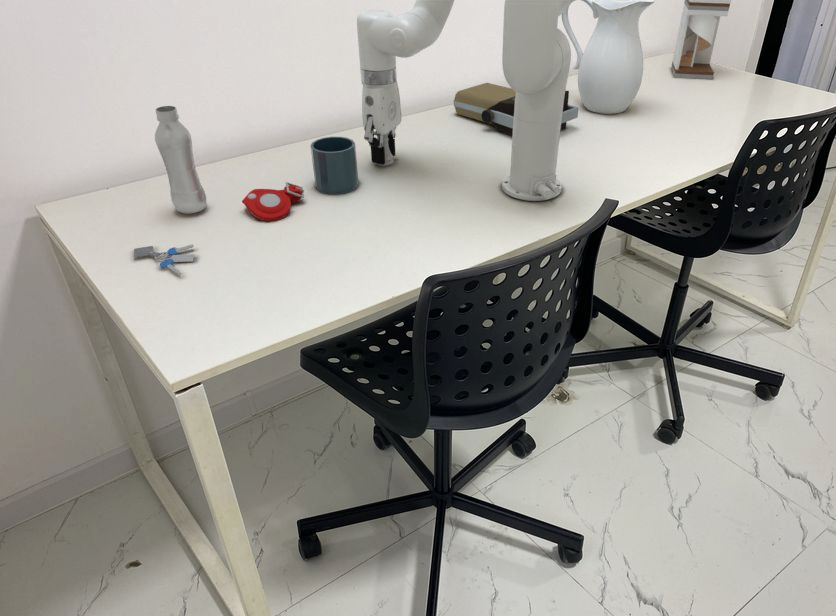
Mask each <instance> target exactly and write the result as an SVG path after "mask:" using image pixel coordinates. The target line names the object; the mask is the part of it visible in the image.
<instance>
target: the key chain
mask: <svg viewBox="0 0 836 616" xmlns="http://www.w3.org/2000/svg"><path fill="white" fill-rule="evenodd" d="M194 246H195V245H194V244H188V245H185V246H182V247H176V246H175V247H170V248H168V250H167V251H163V252H156V251H154V245H149V246H143V247H138V248H136V247H135V248H134V249H133V257H134V258H141V257H147V256H149V257H152V258H154V259H155V260H156V261H157V262H160V263H159V267H160V268H169V269H170V270H171V271H172V272H174V273H176V274H178V275H179V276H180V275H182V273H181V272H180V270H179V269H178V268H176V267H175V266H173V263H187V262H188V263H189V262H191V263H192V262H194V258H195V254H194V253H191V254H189V253H188V254H179V253H181V252H182V251H187V250H189V249H192V248H194Z"/></svg>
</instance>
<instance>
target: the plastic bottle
mask: <svg viewBox="0 0 836 616" xmlns="http://www.w3.org/2000/svg"><path fill="white" fill-rule="evenodd" d="M155 115H156V121H157V122H159V123H158V125H157V128H156V130H155V131H154V142H155V145H156V147H157V149H158V151H159V154H160V156H161V159H162V162H163V163H164V167H165V170H166V173H167V177H168V178H167V179H168V184H169V189H170V190H169V193H170V201H171V203H172V205H173V207H174V210H177V211H178V212H179V213H182V214H187V215H189V214H195V213H199V212H202V211H203V210H204V209H205V208H206V206H207V194H206V192H205V190H204V188H203V185H202V183H201V181H200V178H199V174H198V171H197V168H196V163H195V158H194V157H195V156H194V151H193V140H192V135H191V133H190V131H189V130H188V128H187V127H186V126H185V125H184V124H182V123H181V122H180V121H179V119H180V115H179V114H178V110H177V107H176V106H174V105H163V106H159V107H157V108H155Z"/></svg>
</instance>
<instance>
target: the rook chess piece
mask: <svg viewBox="0 0 836 616" xmlns="http://www.w3.org/2000/svg"><path fill="white" fill-rule="evenodd" d="M375 132H377V131H376V130H375ZM388 135H389V132H388V133H387V134H385V135H383V146H384V149H385V164H377V163H375V166H378V167H389V166H392V165H393V163H394V161H395V160H394V157H393V155H392V154H391V152H390V150H389V145H388V140H389V139H388ZM376 138H377V139H378V135H376Z"/></svg>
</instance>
